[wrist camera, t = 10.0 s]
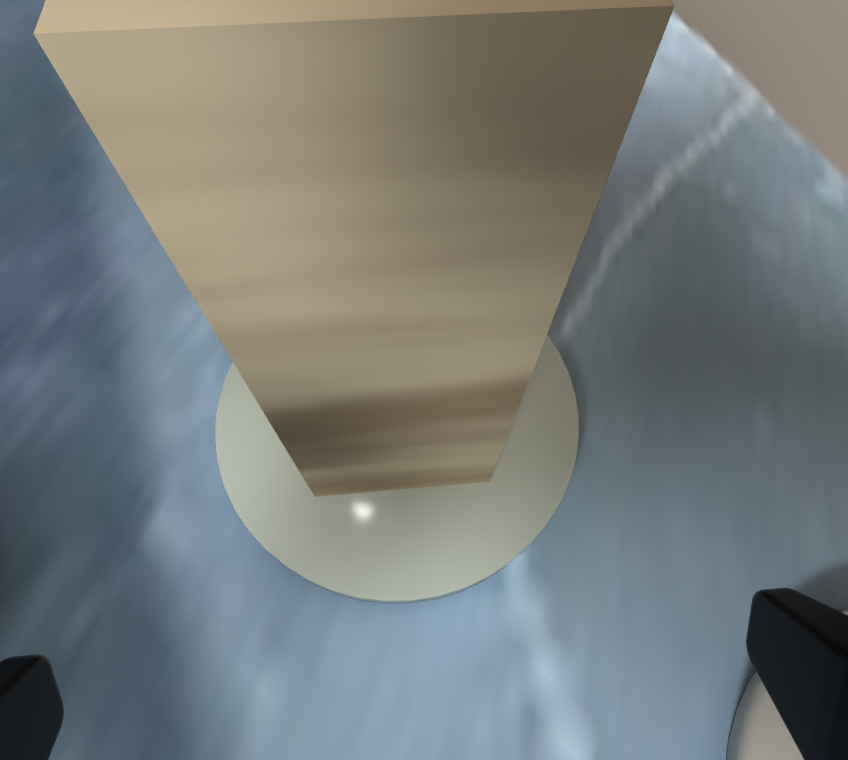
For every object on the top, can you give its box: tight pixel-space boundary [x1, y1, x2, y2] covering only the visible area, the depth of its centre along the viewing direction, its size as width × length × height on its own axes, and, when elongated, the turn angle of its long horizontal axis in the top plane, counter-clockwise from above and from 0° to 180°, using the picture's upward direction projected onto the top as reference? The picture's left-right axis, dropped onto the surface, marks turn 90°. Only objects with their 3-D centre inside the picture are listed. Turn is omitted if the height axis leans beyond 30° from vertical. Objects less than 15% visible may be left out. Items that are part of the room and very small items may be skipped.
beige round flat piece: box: [215, 335, 579, 603], centre depth 18 cm, size 11×11×1 cm
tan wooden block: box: [34, 0, 674, 497], centre depth 11 cm, size 5×5×13 cm
